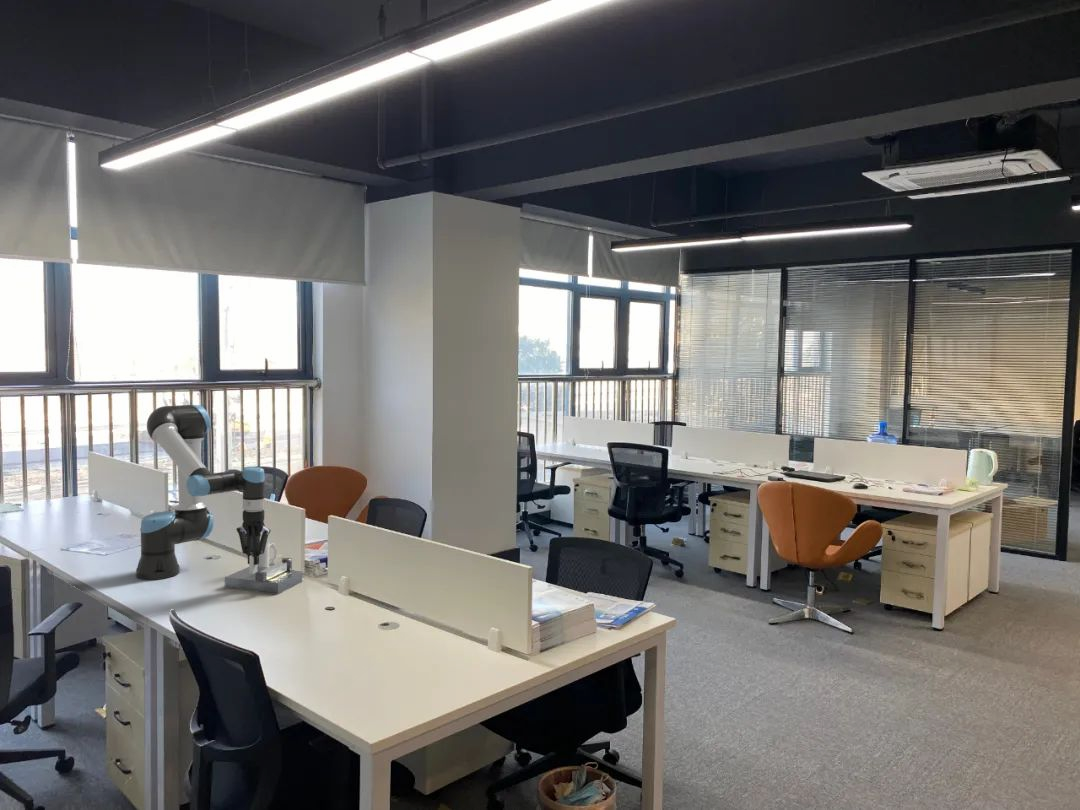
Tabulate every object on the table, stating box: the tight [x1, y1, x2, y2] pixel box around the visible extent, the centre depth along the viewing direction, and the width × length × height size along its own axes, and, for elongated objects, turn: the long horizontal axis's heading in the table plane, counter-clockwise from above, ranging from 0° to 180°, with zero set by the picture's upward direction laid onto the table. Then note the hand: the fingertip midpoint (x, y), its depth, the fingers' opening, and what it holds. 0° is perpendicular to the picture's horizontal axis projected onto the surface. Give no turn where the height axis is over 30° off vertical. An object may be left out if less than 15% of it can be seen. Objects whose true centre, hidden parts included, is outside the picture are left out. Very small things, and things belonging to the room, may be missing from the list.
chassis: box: [224, 566, 303, 595], centre depth 288 cm, size 22×16×4 cm
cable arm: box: [255, 557, 293, 582], centre depth 286 cm, size 19×4×4 cm, turn 166°
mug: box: [257, 540, 278, 568], centre depth 305 cm, size 10×7×12 cm, turn 133°
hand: (253, 572), depth 285 cm, fingers closed
